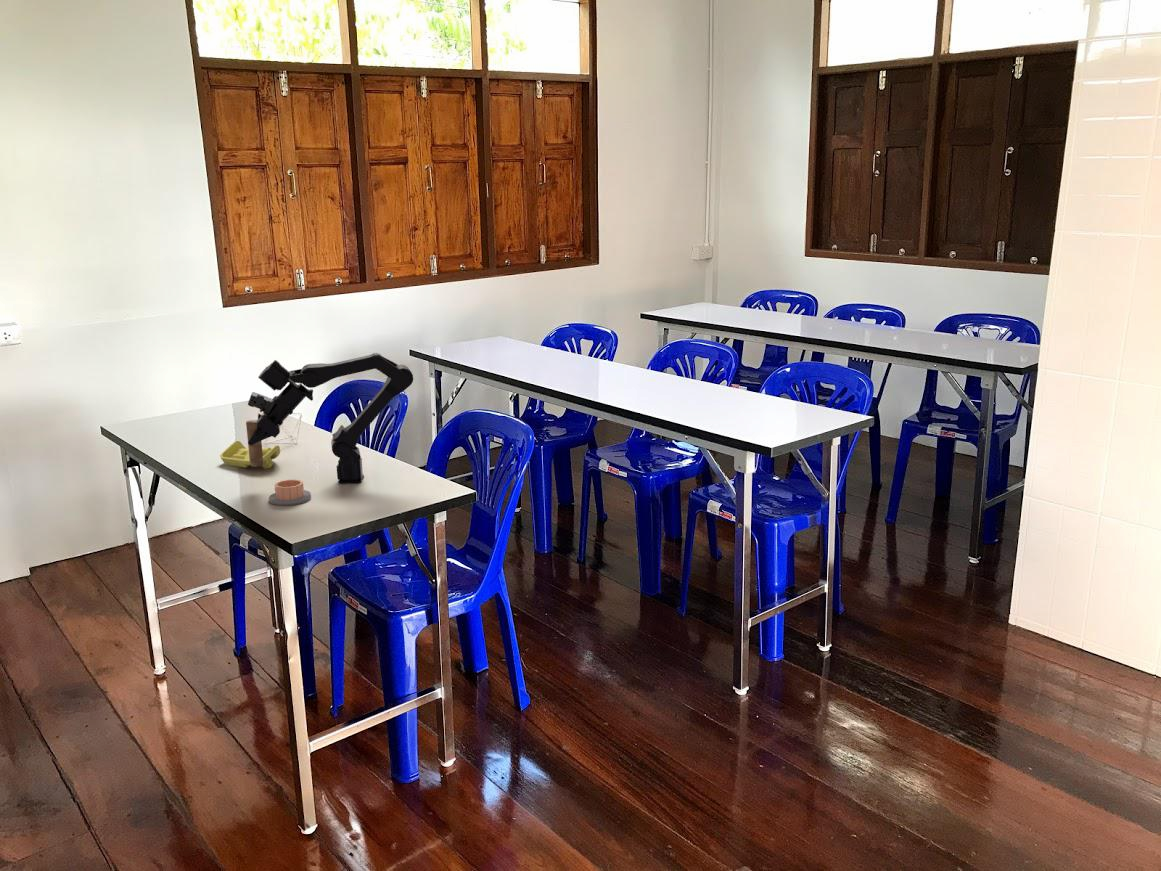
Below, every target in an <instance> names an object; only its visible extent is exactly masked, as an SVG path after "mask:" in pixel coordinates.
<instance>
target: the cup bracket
mask: <svg viewBox="0 0 1161 871" xmlns="http://www.w3.org/2000/svg"><path fill="white" fill-rule="evenodd" d="M274 490H275V491H274V492H273V493H272V494H269V497H268V502H269V503H270V504H271V505H274V506H278V507H279V506H282V507H287V506H297V505H301V504H302V505H303V504H304V503H308V502H309V501H310V500H311V499H312V493H311V492H310V491H308V490H306V489H304V481H302V480H300V479H296V478H295V479H284V480H280V481H277V482H276V483H275V484H274Z"/></svg>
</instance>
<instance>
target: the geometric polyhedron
mask: <svg viewBox="0 0 1161 871" xmlns="http://www.w3.org/2000/svg"><path fill="white" fill-rule="evenodd" d="M296 416H299V418H298V420H297V422H296V426H295V428H294V430H293V432H292V434H291V433H290V432H289V431H288V430H287V429H286V427H285V426H284V425H283V424H282V425H281V426H280V429H282V430H283V431H284V432H285V433H286V434H287V436H286V437H283V438H277V439H274V440H271V441H268V439H269V438H266V439H264V440H265V441H264V443H265V444H270V443H272V444H273V445H274V444H276V445H278V444H281V445H282V444H283V445H297V444H298V440H299V439H298V438H299V433H300V428H301V427H300V426H301V421H302V416H303V414H302V413H300V412H298V413H297V412H293V413H292V414H291V415H289V416H288V417H287V418H291V417H296ZM287 418H286V419H287ZM298 424H299V425H298ZM278 425H279V424H278ZM297 427H298V430H297V437H296V440H295V438H294V437H293V436H294V434H295V433H296V432H295V431H296V429H297ZM288 438H290V439H291V440H292V442H294V443H291V442H275V441H280V440H283V439H288Z"/></svg>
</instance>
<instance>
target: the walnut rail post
mask: <svg viewBox="0 0 1161 871" xmlns="http://www.w3.org/2000/svg"><path fill="white" fill-rule="evenodd" d="M257 420H258V419H251V420H246V422H245V426H246V434H247V435H246V437H247V442H248V441H249V440H250V438H251V437H252V435H253V434H254V432H255V430H256V429H257ZM262 441H263V440H262ZM262 441H259V442H257V443H255V444H253V445H249V444H248V443H247V449H249V458H250V465H249V466H250V467H262V465H263V464H264V463H263V452H262V449H263V444H262Z"/></svg>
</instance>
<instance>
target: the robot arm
mask: <svg viewBox="0 0 1161 871" xmlns="http://www.w3.org/2000/svg"><path fill="white" fill-rule="evenodd" d="M371 370H377V371H379V372H380V373H382V374H383V375H384V376H386V379H385V381H384V384H383V385H382V388H381V389H380V390H379V391H378V392H377V394H376V395H375V396H373V398H372V399H371V400H370V401H369V402H368V404H367V405H365V407H364V409H362V411H360V413H359V414H358V415H357V417H355V419H354V420H353V421H352V422H351V423H350V424H349V425H347V426H344V425H343V424H340V425H339V427H338V429H337V431H336V432H334V433H332V439H331V441H330V443H331V444H330V445H331V452H332V453H333V455H334V456H335V457H337V458H339V459H338V461H337V465H336V477H337V480H338V481H337V482H338V484H358V483H359V484H361V483H362V482H363V479H364V478H365V474H363V459H362V457H361V452H360V448H359V447H358V446H357V444H358V442H359V441H360V438H361V437H362V436H361V435H363V433H364V432H365V431H366V430H367V428H369V426H370V425H371V424H372V422H374V421H375V419H376V418H377V417H378V416H379V415H380V414H381V412H382V411H383V410H384V409H385V408H386V407H387V405H388V404H389V403H391V401H392V400H393V399H394V398H395V397H397V396H398V395H400V394H402V393H403V392H404V391H406V390H407V389H408V388H409V387H410V386H411V385H412V384H413V383H414V375H413V372H412V371H411V369H410V368H409V366H407V365H406V364H398V363H395V362H394V361H392V360H390V359H388V358H386V357H384V356H383V355H382V354H380V353H378V352H374V353H371V354H368V355H364V356H360V357H354V358H351V359H346V360H341V361H337V362H333V363H320V362H318V363H308V364H305V365H303V366H302V368H299V369H294V370H288V369H287V368H286V367H284V366H283V365H282V363H280V362H279V361H278V360H276V359H274V360H273V361H272V362H271V363H270V364H269V365H267V366H265V367H264V369H263V370H262V371H261V373H260V374H259V375H258V377H257V378H258V379H259V380H260V381H262V383H263V384H265V385H267V386H268V388H270V389H271V390H273V391H281V390H282V391H281V392H280V393H279V394H278V395H275V396H274V397H273V398H271V397H268V396H266V395H263V394H260V393H257V392H255V391H252V392H251V394H250V397H249V400H248V402H247V406H249V407H250V408H251V407H252V408H257V409H258V410H259V412H260V413H257V419H256V420H257V429H256V430H255V432H254V434H253V435H252V437H251V438H250V440H249V441H248V440H247V445H248V444H249V445H253V444H255V443H257V442H259V441H264V440H266V438H268V439H269V438H271V437H273V438H275V439H276V438H277V436H279V435H280V433H281V427H282V425H283V424H284V421H285V420H286V419H287V417H288V416H292V415H293V414H292V413H294V411H295V409H296V408H297V407H298V406H299V405H300V404H301V403H302V402H303V400H304V399H305V398H307V399H308V400H310V401H311V402H312V401H313V400H314V396H313V393H314V389H313V388H316V387H319V386H321V385H323V384H326V383H328V382H329V381H332V380H334V379H336V378H340V377H345V376H349V375H353V374H358V373H361V372H366V371H367V372H368V371H371ZM287 384H288V385H287ZM283 388H284V389H283ZM261 413H262V414H261ZM288 418H289V417H288ZM278 424H279V425H278ZM280 426H281V427H280Z"/></svg>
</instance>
